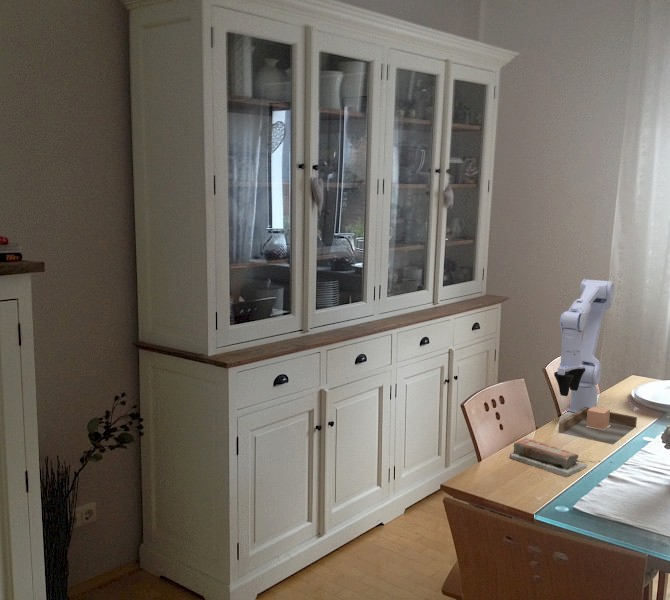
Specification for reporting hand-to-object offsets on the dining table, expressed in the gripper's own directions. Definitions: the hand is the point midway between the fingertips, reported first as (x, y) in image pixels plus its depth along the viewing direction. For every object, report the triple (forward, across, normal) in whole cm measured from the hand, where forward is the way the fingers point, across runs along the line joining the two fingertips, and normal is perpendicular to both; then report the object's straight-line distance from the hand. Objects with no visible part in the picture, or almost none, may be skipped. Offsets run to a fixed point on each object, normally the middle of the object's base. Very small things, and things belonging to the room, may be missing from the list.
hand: (568, 392), depth 228 cm
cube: (+8, -1, -10) cm, 13 cm away
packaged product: (+10, -36, -9) cm, 39 cm away
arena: (+9, -4, -11) cm, 15 cm away
